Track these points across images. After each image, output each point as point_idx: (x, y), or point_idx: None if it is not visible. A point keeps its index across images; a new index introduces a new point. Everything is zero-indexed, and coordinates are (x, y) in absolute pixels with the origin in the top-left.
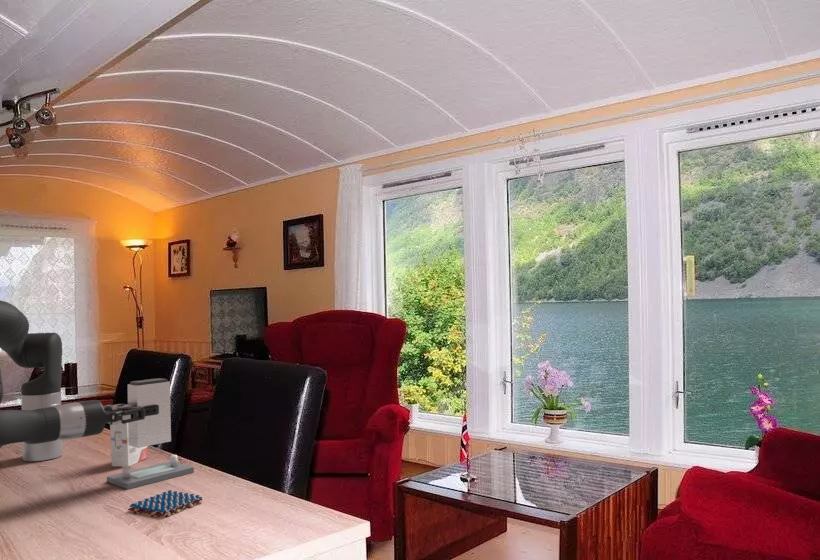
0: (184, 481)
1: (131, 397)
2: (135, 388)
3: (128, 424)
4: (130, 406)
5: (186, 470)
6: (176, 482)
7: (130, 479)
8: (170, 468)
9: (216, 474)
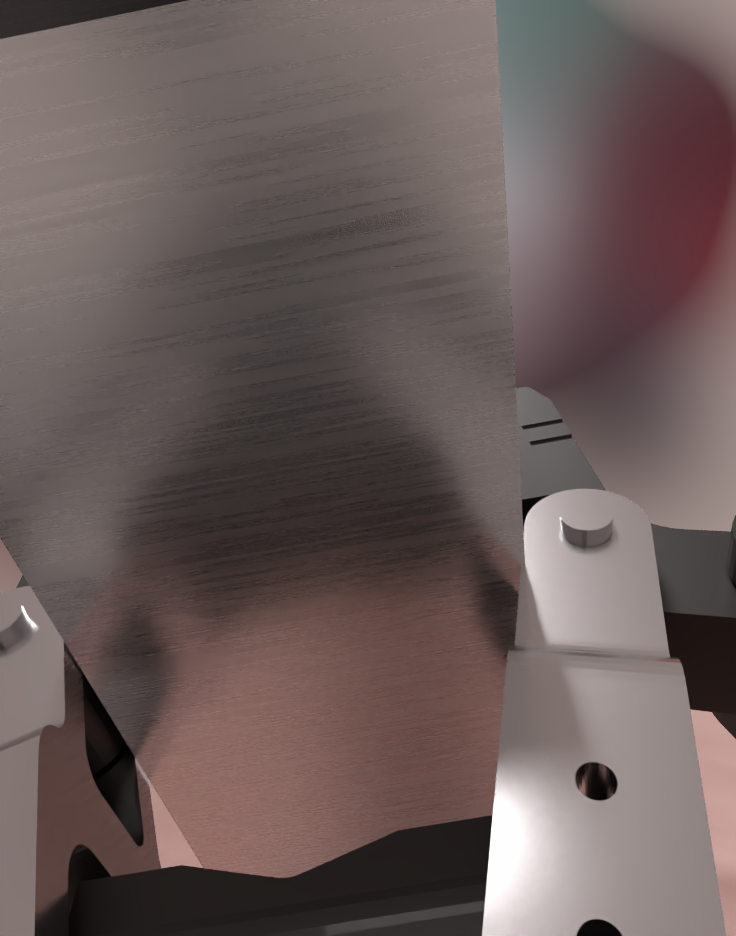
0: (725, 776)
1: (185, 446)
2: (383, 95)
3: (212, 865)
4: (682, 686)
5: None
6: (723, 827)
7: None
8: None
9: None
